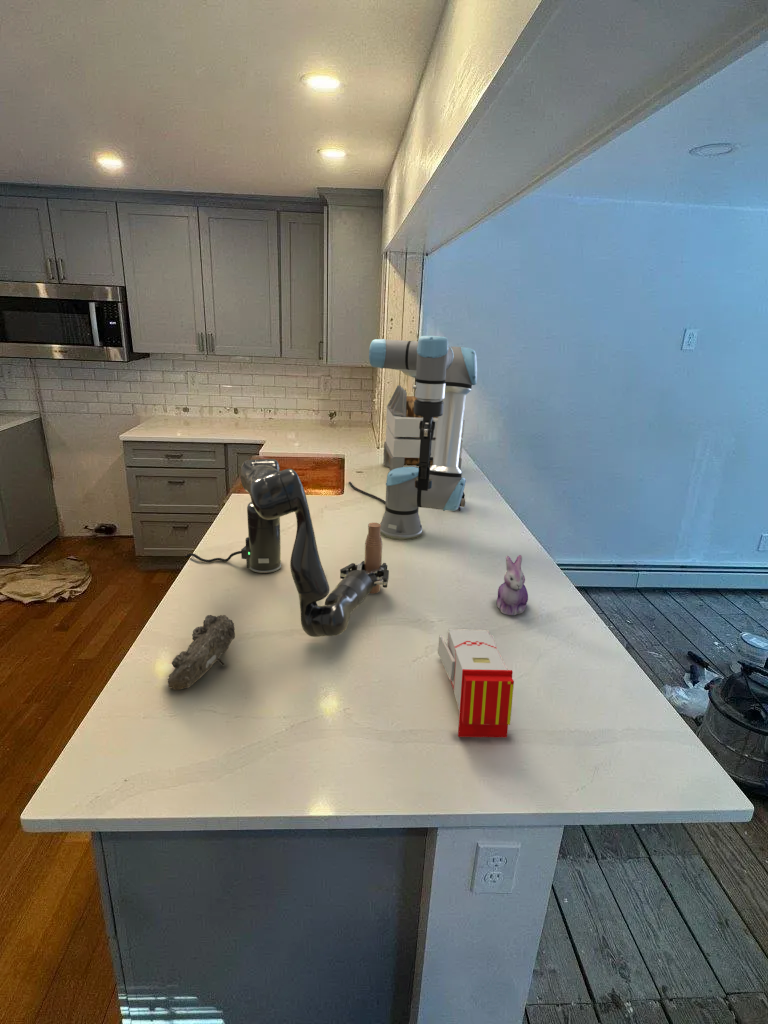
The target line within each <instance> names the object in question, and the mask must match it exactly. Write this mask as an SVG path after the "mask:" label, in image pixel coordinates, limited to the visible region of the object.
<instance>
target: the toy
mask: <svg viewBox="0 0 768 1024" xmlns="http://www.w3.org/2000/svg"><path fill="white" fill-rule="evenodd" d="M446 640H447V643H446V641H445V639H444V636H443V635H442V634H439V637H438V646H437V656H438V657H439V659H440V661H441V663H442V666H443V668H444V670H445V672H446V674H447V677H448V679H449V681H450V684H451V687H452V690H453V693H454V697H455V701H456V705H457V708H458V711H459V714H458V715H459V716H458V730H457V731H458V732H457V737H458V738H508V731H509V726H510V725H511V717H512V707H513V697H514V696H513V695H514V684H515V680H514V679H513V673H514V671H513V670H512V669H508V667H507V665H506V662H505V661H504V659H503V658H502V655H501V653H500V651H499V649H498V647H497V643H496V639H495V637H494V635H493V634H491V632H490V631H489V629H467V628H466V629H465V628H463V629H461V628H460V629H459V628H448V630H447V639H446Z"/></svg>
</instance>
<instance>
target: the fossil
mask: <svg viewBox="0 0 768 1024" xmlns="http://www.w3.org/2000/svg"><path fill="white" fill-rule="evenodd" d="M202 623H203V625H201V626H196V627H195V628H194V629H193V630H192V634H191V636H192V641H191V643H190V644H189V646H188V648H187V650H182V651H181V652H179V654H177V655H175V657H174V658H173V659H172V661H171V666H172V667H173V670H172V672H170V674H169V675H168V676H167V677H168V678H167V684H168V688H169V689H173V690H174V691H179V690H184V689H186V688H187V689H189V688H190V687H192V686H193V685H194V684H195V683H196V682H197V681H198V680H200V679H201V677H203V676H204V675H205V674H206V673H207V672H208V671H209V670H211V668H212V667H213V664H215V663H216V662H219V664H220V665H222V666H225V662H223V660H222V659H221V658H220V657H221V655H222V654H226V652H227V650H228V649H229V647H230V645H231V643H232V641H233V640H234V639H235V638H236V631H235V630H236V628H235V627H236V626H235V623H234V621H233V619H229V617H228V616H227V615H226V614H223V615H222V614H220V615H217V616H216V615H212V614H206V616H205V617H204V619H203V622H202Z"/></svg>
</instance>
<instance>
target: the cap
mask: <svg viewBox="0 0 768 1024" xmlns="http://www.w3.org/2000/svg"><path fill="white" fill-rule="evenodd" d="M417 487H418V477H417V478H415V488H417ZM431 488H432V479H431V478H429V479H428V489H431Z"/></svg>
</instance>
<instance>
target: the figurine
mask: <svg viewBox="0 0 768 1024" xmlns="http://www.w3.org/2000/svg"><path fill="white" fill-rule="evenodd" d="M522 562H523V555H522V554H519V555H518V556H517V557H516V559H515V561H513V560H512V558H511V556H509V555H506V556H505V566H506V567H505V569H506V571H505V573H504V576H503V581H504V582H502V584H500V585H499V586H498V589H497V598H496V607H497V608H498V610H500V612H501V614H503V615H508V616H516V615H518V614H523V612H524V611H525V610H526V607H527V603H528V601H529V594H528V590H527V587H526V585H525V583H526V576H525V574H524V571H523V569H522V564H523V563H522Z"/></svg>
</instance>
